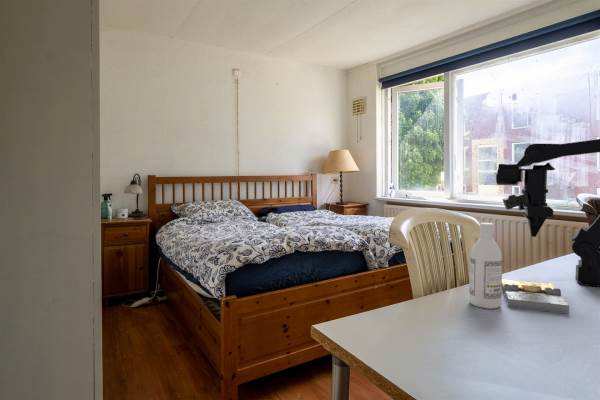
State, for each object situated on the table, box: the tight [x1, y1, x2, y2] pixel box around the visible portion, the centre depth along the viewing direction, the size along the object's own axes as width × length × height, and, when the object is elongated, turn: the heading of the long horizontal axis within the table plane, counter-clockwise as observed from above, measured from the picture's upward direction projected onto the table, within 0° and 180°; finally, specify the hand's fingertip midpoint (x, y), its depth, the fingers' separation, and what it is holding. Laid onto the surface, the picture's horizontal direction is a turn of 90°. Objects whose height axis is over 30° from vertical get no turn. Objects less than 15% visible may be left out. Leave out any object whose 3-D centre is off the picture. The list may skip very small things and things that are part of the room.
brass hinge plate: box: [501, 279, 556, 294], centre depth 96 cm, size 12×9×3 cm
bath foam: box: [468, 222, 503, 310], centre depth 89 cm, size 7×7×20 cm
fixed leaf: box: [503, 284, 570, 315], centre depth 89 cm, size 12×9×3 cm
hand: (533, 236), depth 112 cm, fingers closed
